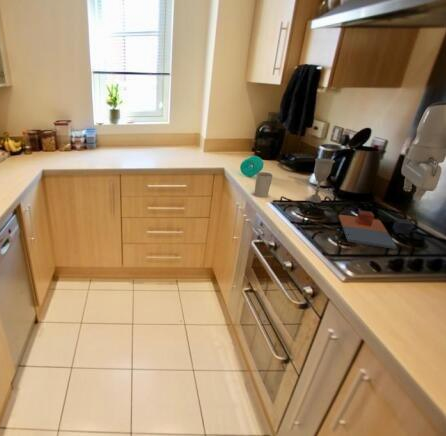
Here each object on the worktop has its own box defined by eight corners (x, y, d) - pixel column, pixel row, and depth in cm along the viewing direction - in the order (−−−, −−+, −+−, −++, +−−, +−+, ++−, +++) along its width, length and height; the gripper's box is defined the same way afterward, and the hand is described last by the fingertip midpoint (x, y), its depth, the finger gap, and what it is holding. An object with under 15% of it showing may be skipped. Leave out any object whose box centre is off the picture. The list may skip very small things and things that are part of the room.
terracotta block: (368, 221, 117) (372, 211, 115) (371, 226, 113) (374, 215, 112) (355, 219, 118) (358, 210, 116) (357, 224, 115) (360, 214, 113)
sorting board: (379, 222, 118) (380, 219, 118) (396, 249, 100) (397, 246, 100) (338, 216, 123) (339, 214, 123) (347, 241, 105) (348, 238, 105)
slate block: (406, 230, 112) (410, 219, 111) (409, 234, 109) (413, 224, 107) (392, 228, 114) (395, 218, 112) (395, 232, 111) (399, 222, 109)
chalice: (302, 199, 141) (311, 159, 133) (311, 196, 144) (321, 157, 136) (317, 204, 135) (328, 163, 127) (327, 201, 138) (338, 161, 130)
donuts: (238, 175, 175) (240, 157, 171) (244, 171, 182) (247, 154, 178) (256, 178, 169) (259, 160, 165) (262, 174, 176) (265, 156, 172)
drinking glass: (269, 193, 148) (272, 173, 144) (267, 198, 143) (272, 177, 138) (253, 191, 151) (257, 171, 147) (252, 196, 145) (255, 175, 141)
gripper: (454, 163, 91) (435, 207, 96) (427, 148, 107) (412, 187, 113) (425, 161, 93) (409, 204, 99) (404, 147, 110) (391, 185, 116)
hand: (410, 195), depth 106 cm, fingers open, 8 cm apart
